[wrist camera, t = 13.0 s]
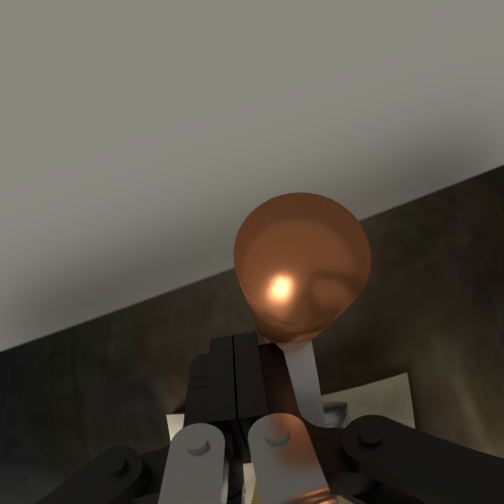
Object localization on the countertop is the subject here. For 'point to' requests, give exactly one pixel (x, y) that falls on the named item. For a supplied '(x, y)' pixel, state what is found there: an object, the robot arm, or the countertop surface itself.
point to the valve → (341, 415)
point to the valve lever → (300, 279)
